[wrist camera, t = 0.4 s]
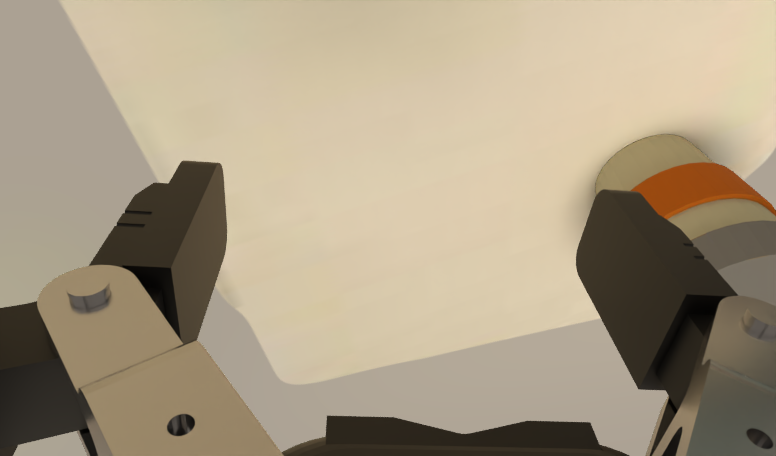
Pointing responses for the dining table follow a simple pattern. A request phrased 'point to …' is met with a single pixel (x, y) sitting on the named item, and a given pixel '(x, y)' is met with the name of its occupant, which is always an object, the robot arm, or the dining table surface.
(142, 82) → the dining table surface
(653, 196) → the reusable coffee cup
